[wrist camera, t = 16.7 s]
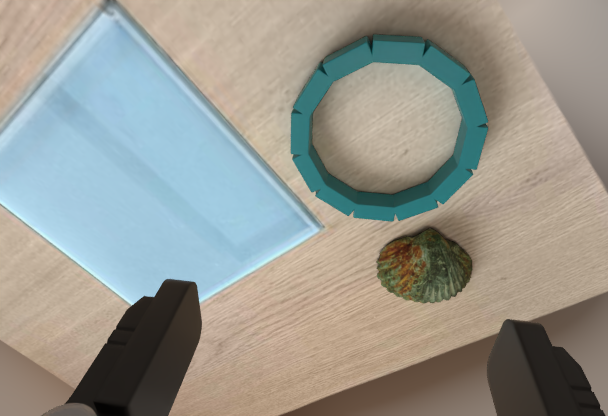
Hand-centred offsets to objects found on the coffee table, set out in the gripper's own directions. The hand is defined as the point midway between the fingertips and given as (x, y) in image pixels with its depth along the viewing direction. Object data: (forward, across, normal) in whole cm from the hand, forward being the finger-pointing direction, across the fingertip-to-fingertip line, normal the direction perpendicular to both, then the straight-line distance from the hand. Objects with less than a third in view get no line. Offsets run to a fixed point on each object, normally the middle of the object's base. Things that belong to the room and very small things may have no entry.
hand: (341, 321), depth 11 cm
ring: (+28, -3, +6) cm, 29 cm away
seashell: (+28, -9, +20) cm, 36 cm away
